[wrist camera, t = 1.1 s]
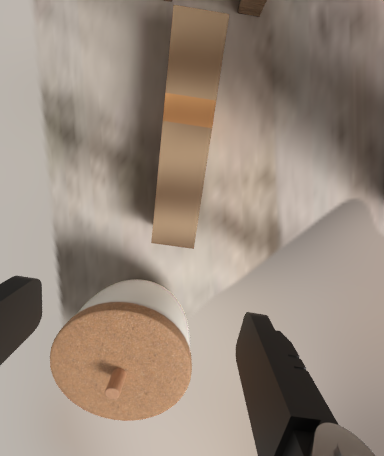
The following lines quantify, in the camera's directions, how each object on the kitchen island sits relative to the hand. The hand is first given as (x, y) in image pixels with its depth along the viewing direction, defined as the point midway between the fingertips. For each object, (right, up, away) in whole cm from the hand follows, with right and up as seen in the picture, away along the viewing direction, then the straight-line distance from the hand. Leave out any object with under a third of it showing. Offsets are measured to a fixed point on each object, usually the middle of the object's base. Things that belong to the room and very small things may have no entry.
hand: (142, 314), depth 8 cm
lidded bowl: (-4, -7, +19) cm, 21 cm away
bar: (+1, +12, +14) cm, 18 cm away
